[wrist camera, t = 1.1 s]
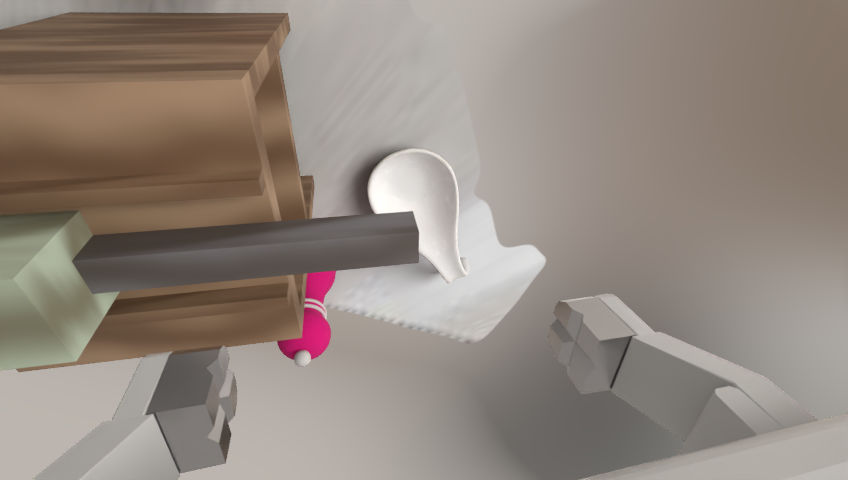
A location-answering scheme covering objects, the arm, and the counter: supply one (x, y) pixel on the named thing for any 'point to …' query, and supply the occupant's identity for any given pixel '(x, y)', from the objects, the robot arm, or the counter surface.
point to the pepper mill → (311, 321)
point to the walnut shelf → (158, 157)
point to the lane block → (161, 268)
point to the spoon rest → (422, 203)
